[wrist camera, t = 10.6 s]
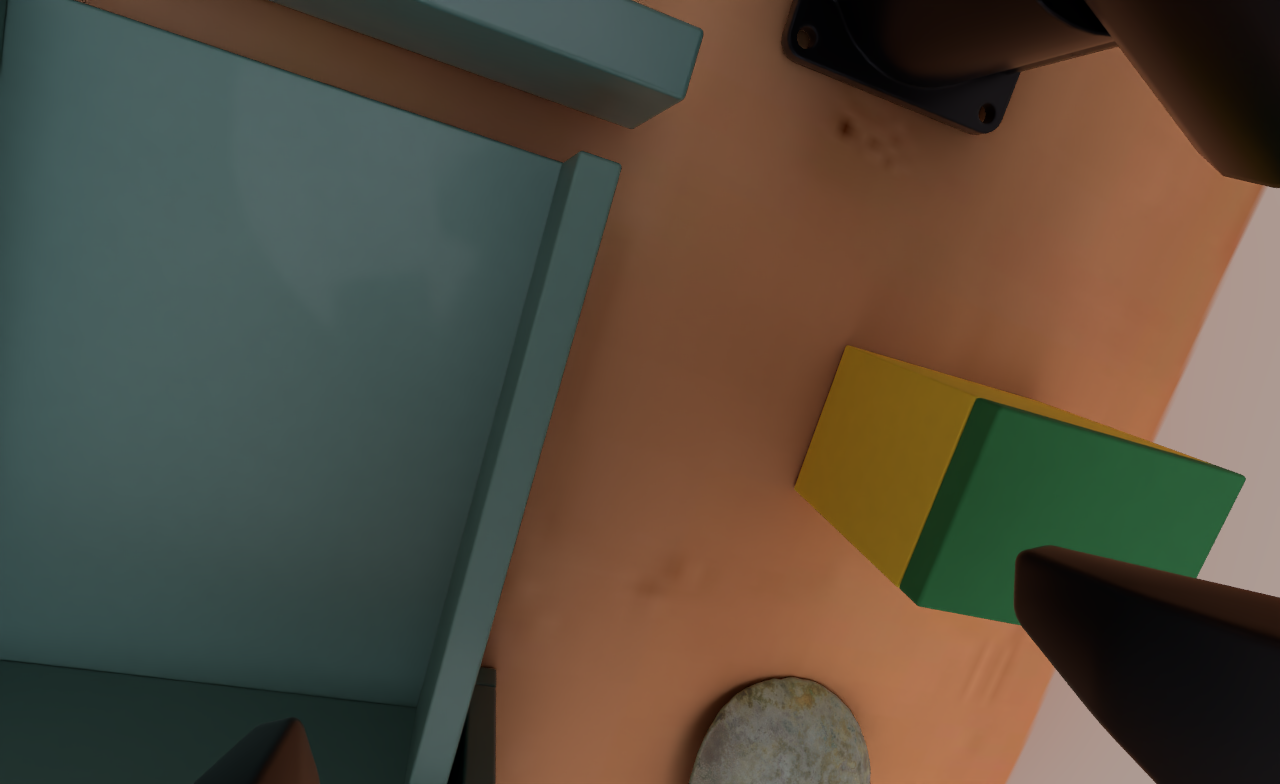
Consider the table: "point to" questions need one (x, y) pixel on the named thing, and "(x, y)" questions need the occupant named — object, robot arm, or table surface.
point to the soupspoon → (783, 738)
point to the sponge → (995, 485)
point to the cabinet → (478, 735)
